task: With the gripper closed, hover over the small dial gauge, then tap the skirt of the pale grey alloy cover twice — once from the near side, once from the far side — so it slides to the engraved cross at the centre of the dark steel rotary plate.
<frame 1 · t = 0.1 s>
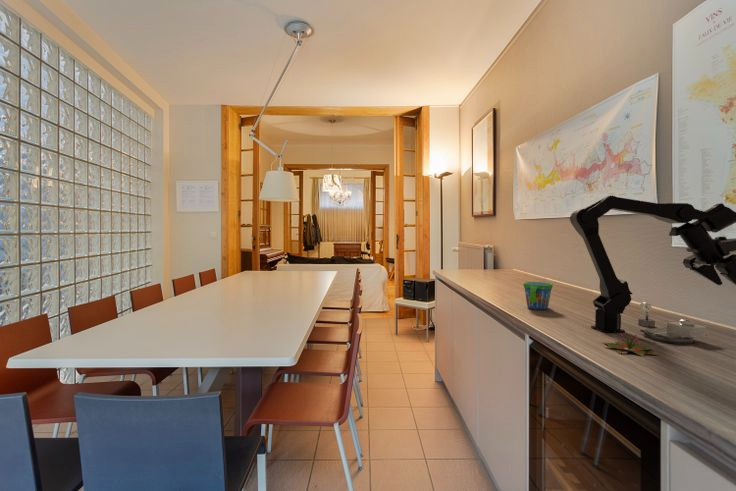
hand: (732, 286, 100), 15 cm above the worktop, tool tilted 35°, fingers open, 9 cm apart
snack cup: (537, 308, 140), on the worktop
lily flower: (629, 352, 90), on the worktop
dial gauge: (646, 325, 113), on the worktop
cover: (686, 333, 98), point 2 cm above the worktop, touching turntable
turntable: (667, 338, 100), on the worktop
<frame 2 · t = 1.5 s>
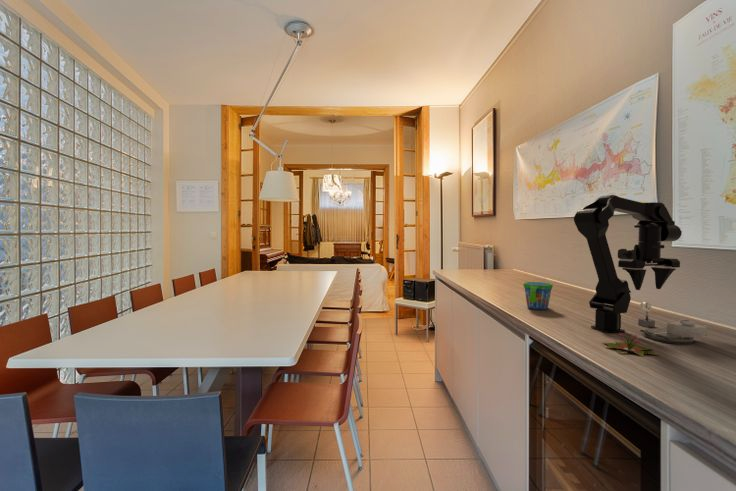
hand: (648, 289, 113), 12 cm above the worktop, tool pointing down, fingers open, 8 cm apart
nothing on the worktop moved.
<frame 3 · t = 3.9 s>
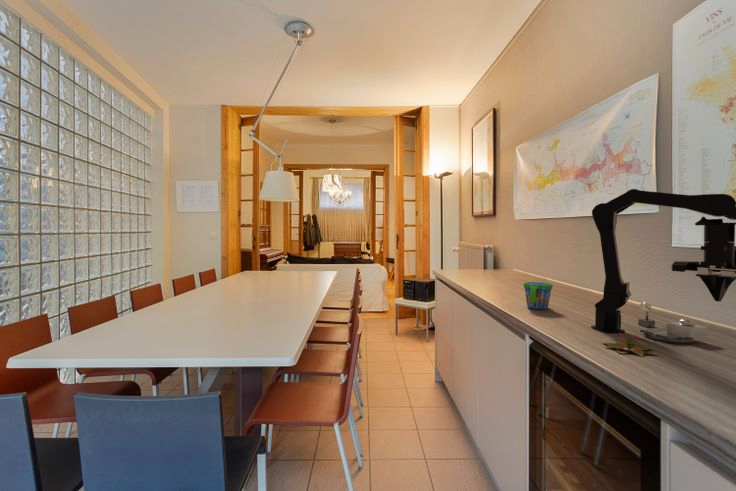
hand: (718, 301, 91), 12 cm above the worktop, tool pointing down, fingers closed
nothing on the worktop moved.
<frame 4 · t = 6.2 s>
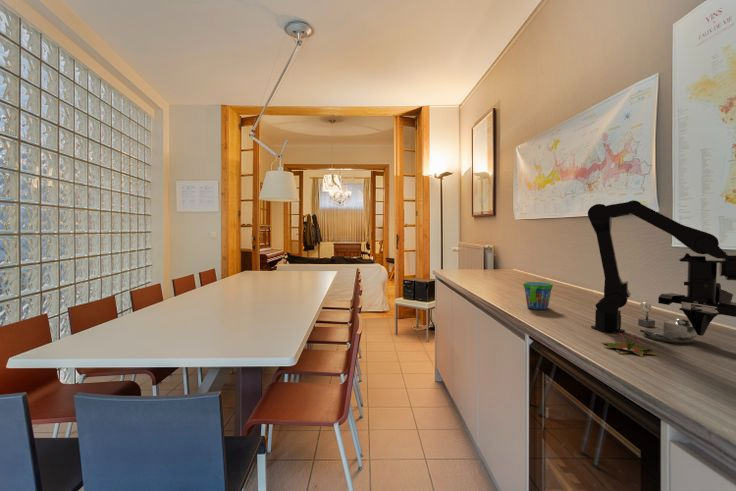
hand: (700, 335, 95), 2 cm above the worktop, tool pointing down, fingers closed
cover: (682, 332, 99), point 2 cm above the worktop, touching gripper, turntable
everything else where it was.
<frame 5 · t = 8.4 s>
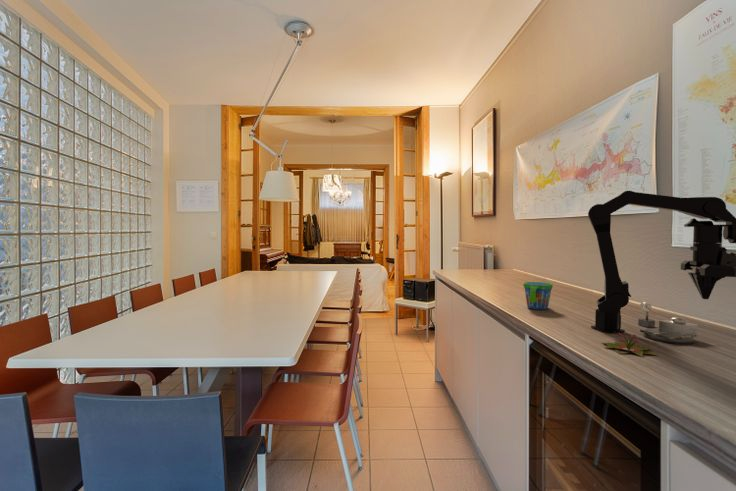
hand: (705, 299, 96), 12 cm above the worktop, tool pointing down, fingers closed
cover: (677, 331, 100), point 2 cm above the worktop, touching turntable
everything else where it was.
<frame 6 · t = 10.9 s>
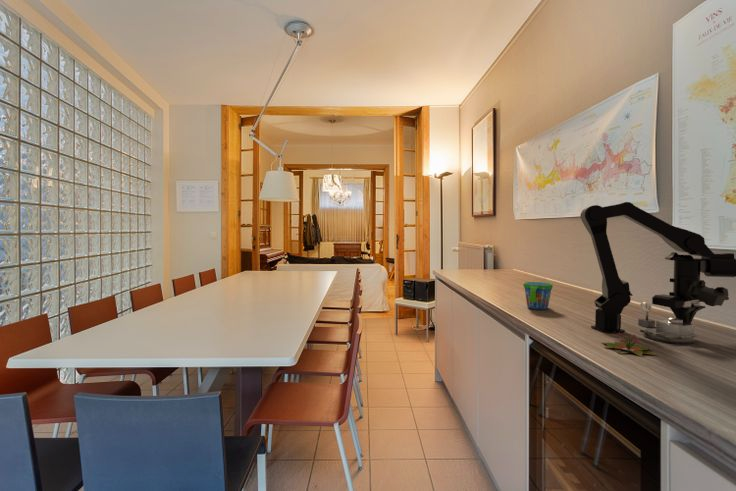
hand: (685, 328, 101), 2 cm above the worktop, tool pointing down, fingers closed
cover: (674, 331, 100), point 2 cm above the worktop, touching gripper
everything else where it was.
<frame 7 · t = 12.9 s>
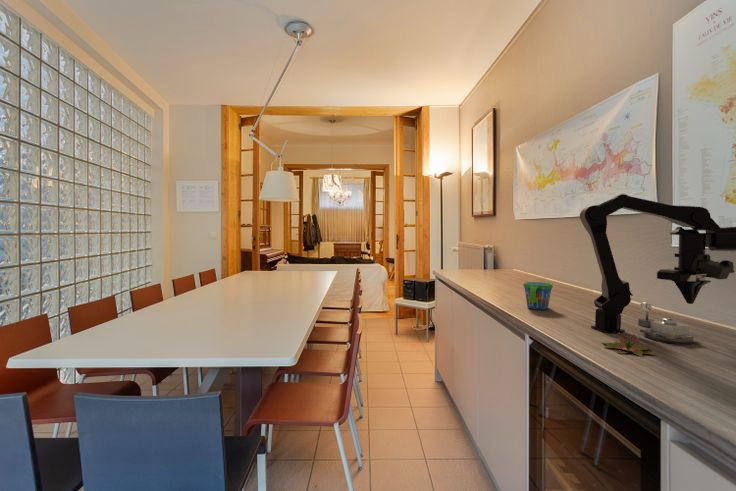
hand: (690, 303, 101), 10 cm above the worktop, tool pointing down, fingers closed
cover: (669, 332, 99), point 2 cm above the worktop, touching turntable
everything else where it was.
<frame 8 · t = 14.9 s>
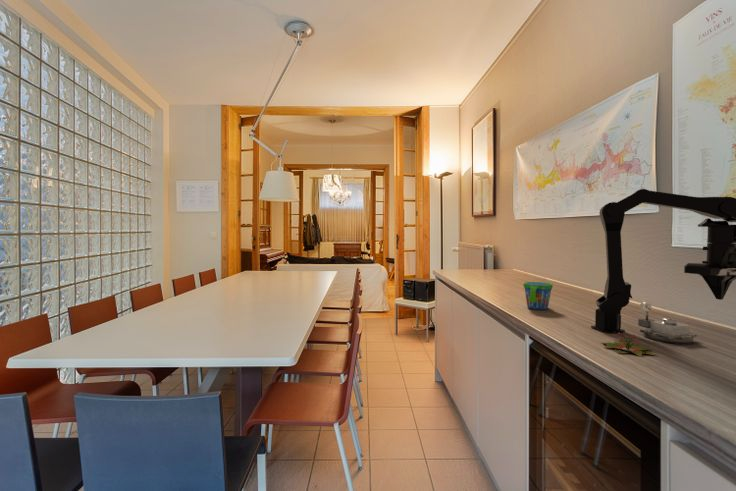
hand: (719, 299, 96), 12 cm above the worktop, tool pointing down, fingers closed
nothing on the worktop moved.
at the end: cover 0.4 cm off-centre on the turntable, point 1.8 cm above the turntable's base; cover tilted 0°; cover moved 4.0 cm from its start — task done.
